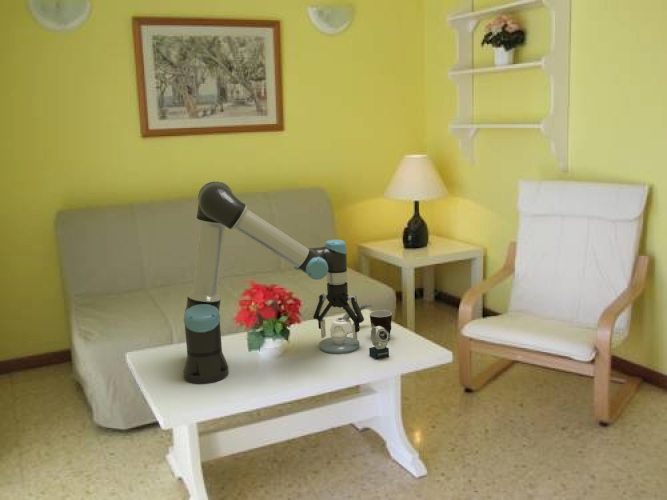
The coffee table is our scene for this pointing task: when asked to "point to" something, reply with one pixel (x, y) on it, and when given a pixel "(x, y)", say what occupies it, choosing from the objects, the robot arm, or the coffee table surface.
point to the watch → (379, 337)
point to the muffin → (338, 335)
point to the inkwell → (346, 320)
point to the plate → (339, 346)
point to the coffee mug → (381, 319)
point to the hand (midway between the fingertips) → (339, 338)
